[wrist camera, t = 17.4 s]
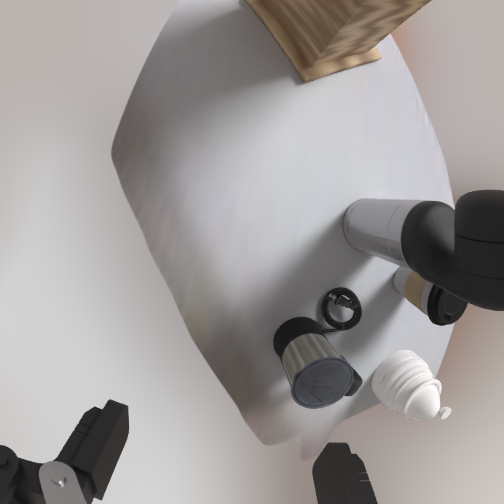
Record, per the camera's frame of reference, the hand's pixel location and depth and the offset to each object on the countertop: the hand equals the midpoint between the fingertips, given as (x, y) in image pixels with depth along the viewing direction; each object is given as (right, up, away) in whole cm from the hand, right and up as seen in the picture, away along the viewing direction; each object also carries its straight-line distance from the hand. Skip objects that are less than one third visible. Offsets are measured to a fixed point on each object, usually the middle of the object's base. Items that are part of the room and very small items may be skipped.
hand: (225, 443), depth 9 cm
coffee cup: (+31, +2, +42) cm, 52 cm away
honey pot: (+33, -20, +46) cm, 61 cm away
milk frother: (+12, -6, +41) cm, 43 cm away
